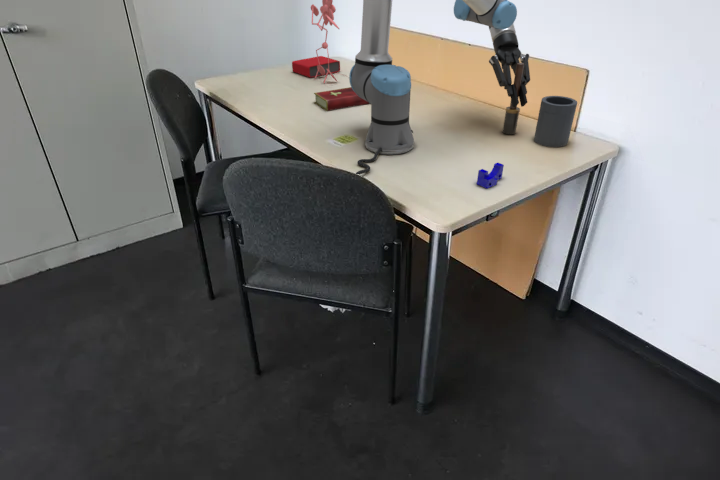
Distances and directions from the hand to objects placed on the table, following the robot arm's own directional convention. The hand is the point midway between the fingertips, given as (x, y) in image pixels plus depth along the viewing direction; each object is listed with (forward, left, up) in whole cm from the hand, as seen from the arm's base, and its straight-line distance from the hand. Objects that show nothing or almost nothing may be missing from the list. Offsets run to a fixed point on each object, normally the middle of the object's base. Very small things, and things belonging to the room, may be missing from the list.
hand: (520, 104), depth 151 cm
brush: (+3, +2, -10) cm, 11 cm away
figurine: (+51, +82, -11) cm, 98 cm away
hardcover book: (+20, +65, -11) cm, 69 cm away
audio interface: (+61, +94, -8) cm, 113 cm away
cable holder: (-36, +4, -11) cm, 38 cm away
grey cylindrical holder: (-1, -11, -11) cm, 15 cm away
